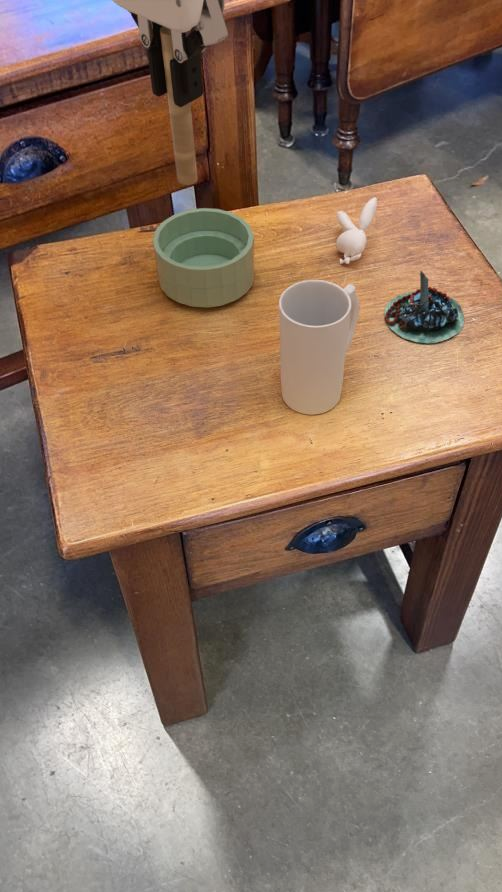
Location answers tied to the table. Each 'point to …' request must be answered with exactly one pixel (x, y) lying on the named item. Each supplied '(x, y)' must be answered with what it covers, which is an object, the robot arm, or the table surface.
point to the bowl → (204, 257)
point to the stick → (179, 121)
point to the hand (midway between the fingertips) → (178, 93)
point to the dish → (424, 314)
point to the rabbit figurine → (355, 232)
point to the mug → (315, 343)
